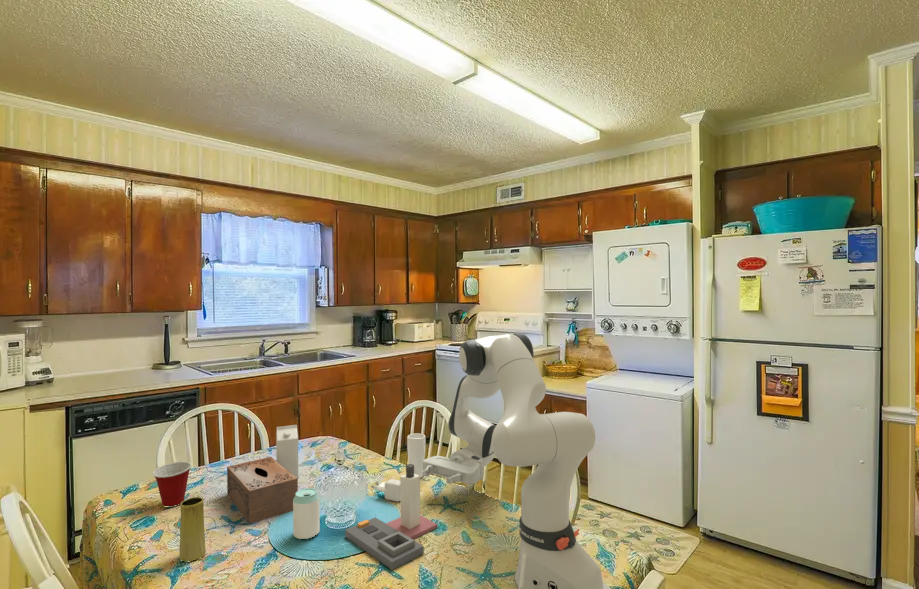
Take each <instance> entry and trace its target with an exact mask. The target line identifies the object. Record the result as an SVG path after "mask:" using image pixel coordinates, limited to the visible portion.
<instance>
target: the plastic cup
mask: <svg viewBox="0 0 919 589" xmlns="http://www.w3.org/2000/svg"><path fill="white" fill-rule="evenodd" d="M191 467H192V463H191V462H190V461H189V462H188V461H175V462H171V463H170V462H169V463H167V464H163V465H162V466H159V467H157V468H155V469H154V470H153V472H152V475H153V477H154V478H155V480H156V483H157V488H158V491H159V492H158V493H159V496H160V499H161V504H162V506H163V505H164V506H174V505H178V504H180V503H181V502H182V501H184V500H185V497H186V492H187V486H188V480H189V474H190V470H191Z"/></svg>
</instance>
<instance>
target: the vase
mask: <svg viewBox="0 0 919 589" xmlns="http://www.w3.org/2000/svg"><path fill="white" fill-rule="evenodd" d="M179 506H180V526H179V557H178V560H179V559H180V560H182V561H193V560H196V559H198V560H200V559H201V558H200V557H202V556H203V555H204V554H205V552H206V553H207V551H206V539H205V538H206V537H205V516H204V515H205V514H204V498H203V497H201V496H195V497H194V496H193V497H190V498H187V499H184V501H182V502H181V504H180V505H179ZM205 555H206V554H205ZM205 555H204V556H205ZM204 556H203V557H204ZM203 557H202V558H203ZM199 558H200V559H199ZM180 560H179V561H180ZM196 561H197V560H196ZM193 562H194V561H193Z"/></svg>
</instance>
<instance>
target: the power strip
mask: <svg viewBox="0 0 919 589" xmlns="http://www.w3.org/2000/svg"><path fill="white" fill-rule="evenodd" d="M386 523H387V522H386ZM386 523H385V522H384V521H382V520H381V519H379V518H377V517H372V518H371V519H364V520H362V521H359V522H358V523H357V524H356V525H354V526H351V527H348V528H347V529H345V530H344V531H345V532H344V533H345V534H344V537H345V538H346V539H348V540H349V541H350V542H352V543H353V544H355V545H356V546H357V547H359V548H360V549H362V550H363V551H365V552H366V553H367V554H368V555H370V556H371V557H373V558H374V559H375V560H377V561H378V562H380V563H382V564H383V565H385V567H387V568H389V569H390V570H391V571H393V570H396V569H398V568H399V567H401V566H403V565H405V564H407V563H409V562H411V561H412V560H415V559H417V558H419V557H421V556H422V555H424V549H425V548H424V545H422V544H420V543H419V542H417V541H416V540H415V539H411V538H410V537H408V536H406V535H405V534H403V533H401V532H400V531H397V530H396V529H394V528H392V527H391V526H389V525H387V524H386Z"/></svg>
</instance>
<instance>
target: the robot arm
mask: <svg viewBox="0 0 919 589" xmlns="http://www.w3.org/2000/svg"><path fill="white" fill-rule="evenodd" d="M458 361H459V364H460V366H461V369H462V371H463V372H464V373H465V374H466V375H464V376H463V377H462V378H461V380H459V383H458V384H457V385H458V386H457V388H456V393H455V397H454V403H453V406H452V410H451V413H450V416H449V417H448V418H449V419H448V423H447V424H448V429H449V432H450V434H451V435H453V436H455V437H457V438H459V439H461V440H462V441H465V442H466V443H468V445H467V446H466V447H462V448H460V449H458V450H456V451H454V452H452V453H451V454H450V456H449V457H447V456H441V455H434V456H430V457H428V458H425V460H423V477H427V478H428V477H430V476H431V475H435V476H439V477H442V478H446V479H445V480H446V484H449V485H452V484H454V483H463V484H467V485H474V484H476V483H478V482H479V481H481V480H483V479H484V473H485V472H484V471H485V470H484V469H485V467H486V466H487V465H488V464H490V463H491V462H492V461H493V459H494V457H496V459H497V460H498V461H499V462H500V463H501V465H503V466H507V467H508V466H509V467H522V468H525V467H530V466H536V465H537V467H536V468H535V469H534V471H533V472H532V473H530V475H529V476H528V477H526V479H525V480H524V481H523V483H522V486H521V490H520V497H521V498H520V502H521V503H520V508H521V509H520V512H521V513H520V517H519V536H520V548H519V556H518V563H517V567H516V571H515V574H514V580H515V584H516V586H517V589H612V588H611V587H610V586H609V585H607V584H605V583H604V581H603V574H602V570H601V568H600V566H599V564H598V563H597V562H596V561H595V560H594V559H593V557H591V555H590V554H589V553H588V552H587V550H585V549H584V547H582V545H581V544H580V543H579V542H578V541H577V536H579V535H580V528H578V529H576V530H575V531H574V528H573V526H572V523H571V520H570V495H571V494H570V493H571V487H572V484H573V481H574V477H575V475H576V473H577V470H578V468H579V466H580V465H581V463H582V461H583V460H584V459H585V457H587V455H589V454H590V453H591V451H592V450H593V449H594V446H595V443H596V432H595V430H596V429H595V428H594V425H593V423H592V422H591V420H590V419H589V417H587V415H585V414H584V413H581V412H579V413H578V412H574V411H573V412H571V411H558V412H550V413H540V412H538V410H537V408H536V407H537V406H538V405H539V404H540V403H541V402H542V401H543V400H544V398H545V395H546V391H547V390H546V388H547V387H546V384H545V380H544V379H543V377H542V375H541V372H540V369H539V368H538V366H537V363H536V362H535V360H534V347H533V343H532V341H531V339H530V338H529V337H528V336H527V335H526V334H521V333H513V334H511V333H506V334H499V335H498V334H497V335H488V336H484V337H483V336H482V337H480V338H475V339H474V338H472V339H469V340H466V341H464V342H463V343H462V344H461V345H460V347H459V352H458ZM499 391H500V392H501V396H502V399H503V404H504V406H503V407H504V409H503V414H502V417H501V419H500V420H499V422H498V423H497V424H496V425H495V424H494V423H492V422H490V421H488V420H486V419H485V418H482V417H481V416H479V415H478V414H476V413H474V412H472V410H471V409H470V408H469V406H470V403H471V399H472V398H474V399H475V398H476V399H480V400H481V399H487V398H490V397H493V396H494V395H496V394H497V393H498V392H499Z"/></svg>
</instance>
